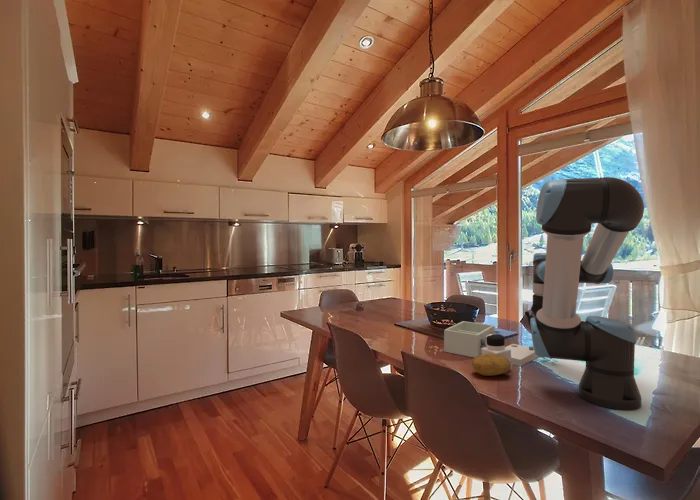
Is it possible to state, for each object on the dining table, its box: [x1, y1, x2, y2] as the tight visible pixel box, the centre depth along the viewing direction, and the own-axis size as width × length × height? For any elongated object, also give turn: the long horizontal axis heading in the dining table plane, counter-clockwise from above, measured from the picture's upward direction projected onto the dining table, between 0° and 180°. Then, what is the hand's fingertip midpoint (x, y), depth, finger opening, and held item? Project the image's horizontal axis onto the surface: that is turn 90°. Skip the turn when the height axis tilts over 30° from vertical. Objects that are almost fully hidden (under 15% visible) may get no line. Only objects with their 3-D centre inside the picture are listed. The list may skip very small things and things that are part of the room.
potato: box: [471, 354, 512, 377], centre depth 129 cm, size 9×13×7 cm
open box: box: [443, 320, 496, 359], centre depth 158 cm, size 20×18×9 cm
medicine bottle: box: [481, 333, 513, 370], centre depth 135 cm, size 7×7×12 cm
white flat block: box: [504, 343, 540, 367], centre depth 148 cm, size 18×11×4 cm, turn 132°
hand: (542, 356), depth 142 cm, fingers closed
